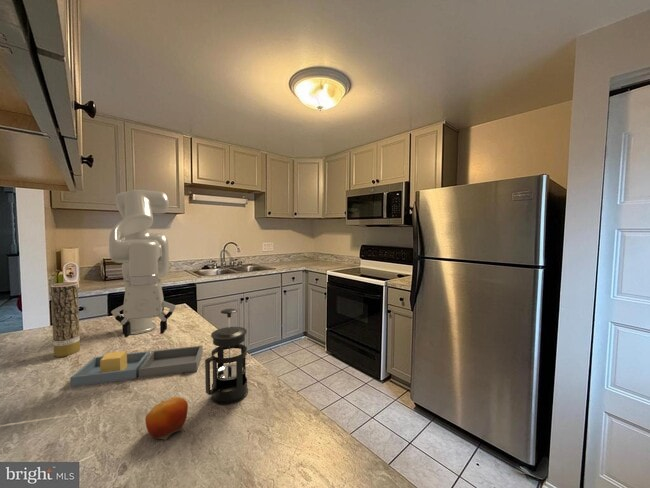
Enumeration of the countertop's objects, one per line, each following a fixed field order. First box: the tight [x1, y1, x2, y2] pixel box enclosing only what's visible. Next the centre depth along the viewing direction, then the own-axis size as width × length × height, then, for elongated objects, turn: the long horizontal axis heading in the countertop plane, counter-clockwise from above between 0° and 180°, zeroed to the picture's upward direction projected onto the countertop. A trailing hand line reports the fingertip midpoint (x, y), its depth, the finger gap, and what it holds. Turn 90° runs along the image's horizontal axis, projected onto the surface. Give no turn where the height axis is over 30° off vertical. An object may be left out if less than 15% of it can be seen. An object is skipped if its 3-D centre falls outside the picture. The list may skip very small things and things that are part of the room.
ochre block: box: [100, 350, 128, 373], centre depth 84 cm, size 5×5×5 cm
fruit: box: [145, 396, 189, 441], centre depth 60 cm, size 8×8×8 cm
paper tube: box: [50, 281, 81, 358], centre depth 97 cm, size 7×7×25 cm
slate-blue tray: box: [69, 350, 151, 388], centre depth 84 cm, size 13×16×3 cm
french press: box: [204, 308, 249, 406], centre depth 73 cm, size 12×9×23 cm
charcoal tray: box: [138, 345, 203, 379], centre depth 89 cm, size 13×16×3 cm
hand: (145, 334), depth 86 cm, fingers open, 9 cm apart
